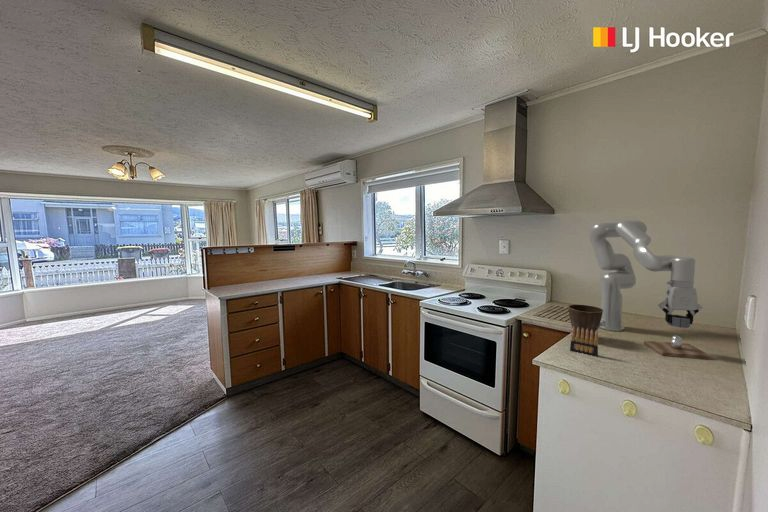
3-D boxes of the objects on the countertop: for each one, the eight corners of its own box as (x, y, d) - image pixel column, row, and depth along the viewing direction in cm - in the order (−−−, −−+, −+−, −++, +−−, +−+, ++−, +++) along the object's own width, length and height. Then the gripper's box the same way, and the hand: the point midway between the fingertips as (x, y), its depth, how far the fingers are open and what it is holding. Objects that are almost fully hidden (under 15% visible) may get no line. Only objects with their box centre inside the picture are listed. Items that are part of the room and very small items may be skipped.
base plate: (662, 355, 136) (662, 352, 136) (643, 343, 150) (644, 340, 149) (711, 359, 132) (711, 356, 132) (688, 346, 145) (688, 343, 145)
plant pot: (560, 335, 163) (561, 305, 161) (581, 331, 167) (582, 303, 165) (586, 345, 148) (588, 313, 147) (608, 341, 153) (610, 310, 151)
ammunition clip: (597, 355, 137) (599, 329, 136) (597, 357, 136) (599, 331, 135) (570, 349, 144) (571, 325, 143) (569, 350, 143) (571, 326, 141)
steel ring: (674, 327, 137) (675, 318, 136) (664, 322, 143) (665, 314, 143) (693, 328, 135) (694, 319, 135) (682, 323, 142) (683, 314, 141)
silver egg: (673, 349, 139) (674, 336, 139) (668, 346, 143) (669, 334, 142) (683, 349, 138) (684, 337, 138) (677, 346, 142) (678, 334, 141)
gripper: (664, 285, 136) (661, 324, 138) (711, 286, 132) (708, 326, 133) (653, 282, 143) (651, 319, 145) (698, 283, 139) (695, 321, 141)
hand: (678, 322), depth 139 cm, fingers closed on steel ring, 7 cm apart
